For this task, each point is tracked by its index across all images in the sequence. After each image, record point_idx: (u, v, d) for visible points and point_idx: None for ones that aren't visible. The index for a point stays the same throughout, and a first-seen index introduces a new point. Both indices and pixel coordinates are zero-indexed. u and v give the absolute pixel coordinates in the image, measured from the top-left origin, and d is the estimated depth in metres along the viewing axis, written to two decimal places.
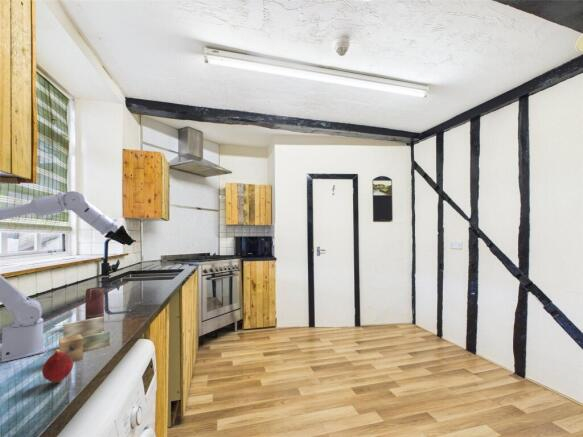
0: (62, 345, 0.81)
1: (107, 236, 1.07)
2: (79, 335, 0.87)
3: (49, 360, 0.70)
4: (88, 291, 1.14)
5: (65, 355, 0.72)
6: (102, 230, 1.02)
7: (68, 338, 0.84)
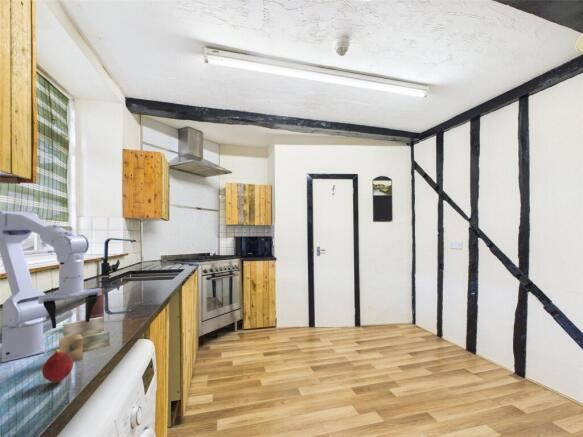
0: (62, 345, 0.81)
1: (85, 298, 0.89)
2: (79, 335, 0.87)
3: (49, 360, 0.70)
4: None
5: (65, 355, 0.72)
6: None
7: (68, 338, 0.84)
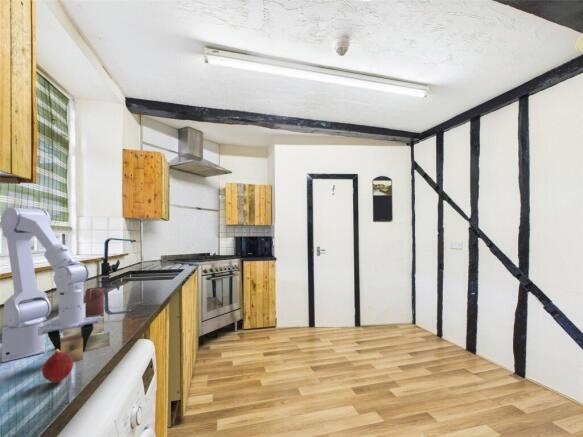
0: (62, 345, 0.81)
1: (81, 327, 0.88)
2: (79, 335, 0.87)
3: (49, 360, 0.70)
4: (88, 291, 1.14)
5: (65, 355, 0.72)
6: None
7: (68, 338, 0.84)
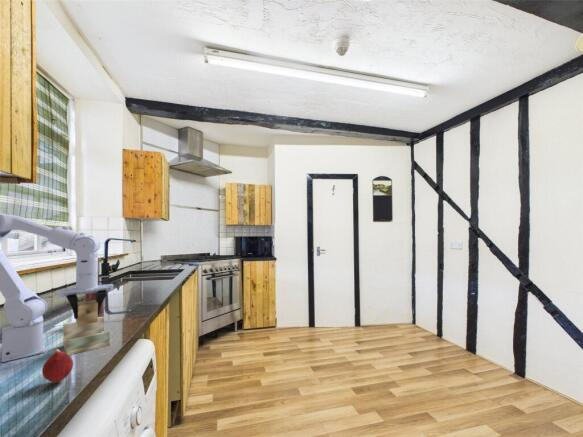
0: (79, 308, 0.90)
1: (95, 293, 0.98)
2: (94, 301, 0.96)
3: (49, 360, 0.70)
4: (88, 291, 1.14)
5: (65, 355, 0.72)
6: None
7: (84, 303, 0.94)
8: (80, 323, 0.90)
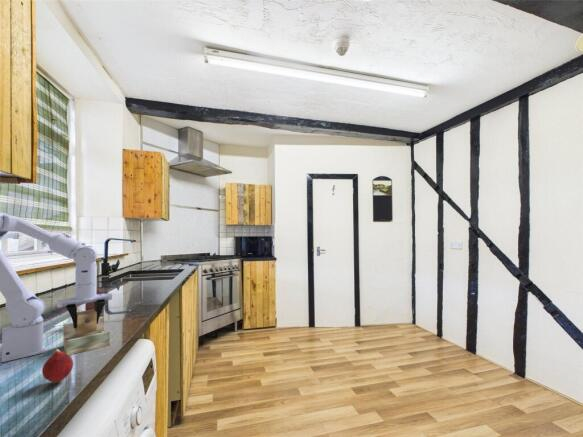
0: (79, 317, 0.92)
1: (94, 302, 0.99)
2: (93, 310, 0.98)
3: (49, 360, 0.70)
4: None
5: (65, 355, 0.72)
6: None
7: (83, 312, 0.95)
8: (79, 332, 0.92)
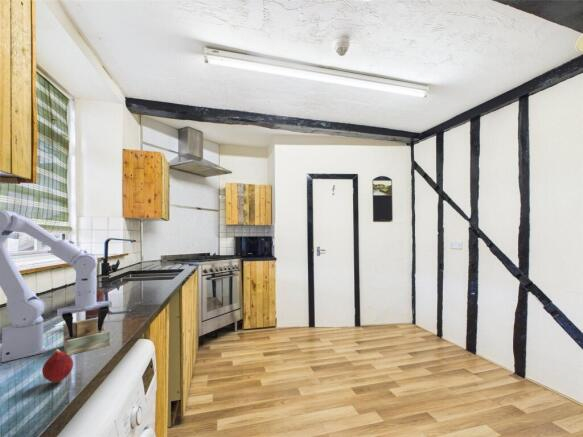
0: (79, 328, 0.92)
1: (98, 309, 1.00)
2: (93, 320, 0.98)
3: (49, 360, 0.70)
4: None
5: (65, 355, 0.72)
6: None
7: (83, 322, 0.95)
8: None
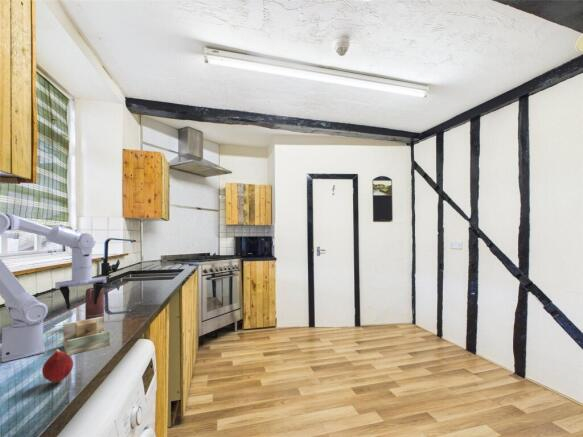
0: (79, 328, 0.92)
1: (93, 285, 1.07)
2: (93, 320, 0.98)
3: (49, 360, 0.70)
4: (88, 291, 1.14)
5: (65, 355, 0.72)
6: None
7: (83, 322, 0.95)
8: None
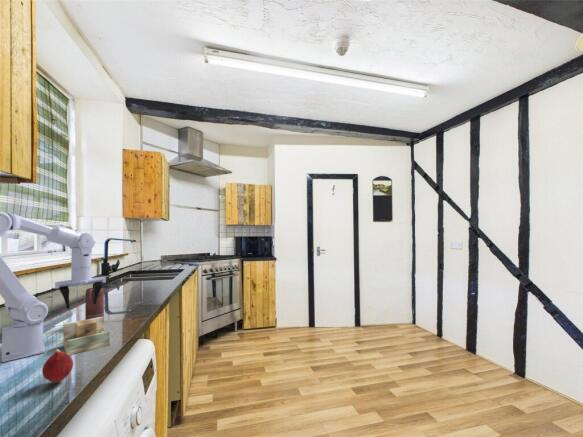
0: (79, 328, 0.92)
1: None
2: (93, 320, 0.98)
3: (49, 360, 0.70)
4: (88, 291, 1.14)
5: (65, 355, 0.72)
6: None
7: (83, 322, 0.95)
8: None
